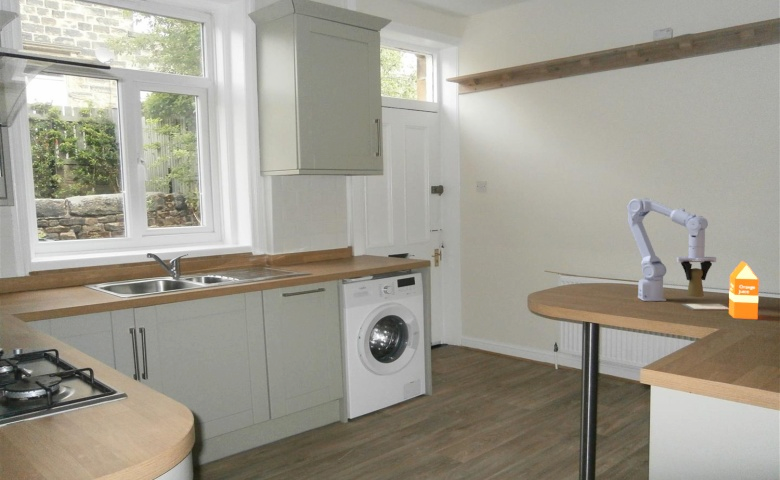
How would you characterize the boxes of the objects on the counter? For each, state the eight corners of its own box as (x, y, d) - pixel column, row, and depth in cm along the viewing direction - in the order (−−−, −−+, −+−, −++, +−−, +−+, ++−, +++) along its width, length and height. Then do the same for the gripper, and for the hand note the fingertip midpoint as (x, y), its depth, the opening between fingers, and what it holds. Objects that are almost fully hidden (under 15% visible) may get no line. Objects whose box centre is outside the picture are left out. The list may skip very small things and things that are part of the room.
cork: (705, 297, 236) (705, 269, 235) (688, 296, 237) (689, 269, 236) (701, 293, 242) (702, 267, 240) (685, 293, 243) (685, 267, 242)
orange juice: (751, 314, 221) (753, 261, 219) (757, 319, 213) (759, 264, 211) (728, 313, 224) (729, 260, 222) (733, 318, 215) (735, 263, 214)
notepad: (692, 310, 230) (693, 308, 230) (682, 304, 241) (682, 303, 241) (733, 310, 228) (733, 309, 228) (720, 304, 239) (720, 303, 239)
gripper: (681, 247, 234) (681, 281, 235) (720, 247, 233) (719, 281, 234) (674, 245, 241) (674, 278, 242) (712, 245, 240) (711, 278, 241)
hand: (695, 279), depth 238 cm, fingers closed on cork, 5 cm apart
